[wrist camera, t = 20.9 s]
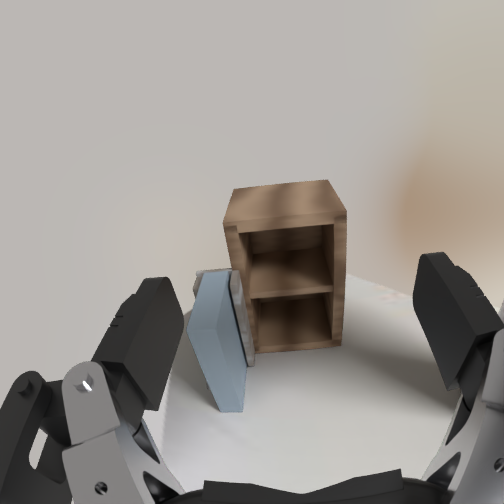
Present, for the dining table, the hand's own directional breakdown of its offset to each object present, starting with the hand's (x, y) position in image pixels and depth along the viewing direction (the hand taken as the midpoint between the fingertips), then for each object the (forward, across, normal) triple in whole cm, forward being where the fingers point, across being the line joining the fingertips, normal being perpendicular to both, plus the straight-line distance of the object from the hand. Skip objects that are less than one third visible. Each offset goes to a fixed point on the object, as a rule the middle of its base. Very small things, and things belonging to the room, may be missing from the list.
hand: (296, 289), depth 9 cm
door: (+17, +10, +30) cm, 36 cm away
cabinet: (+27, +3, +30) cm, 41 cm away
